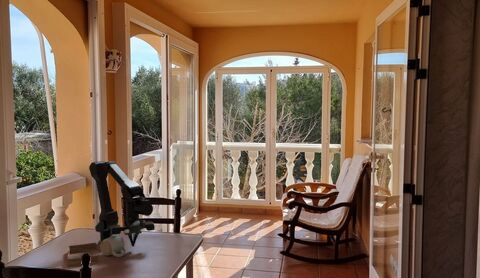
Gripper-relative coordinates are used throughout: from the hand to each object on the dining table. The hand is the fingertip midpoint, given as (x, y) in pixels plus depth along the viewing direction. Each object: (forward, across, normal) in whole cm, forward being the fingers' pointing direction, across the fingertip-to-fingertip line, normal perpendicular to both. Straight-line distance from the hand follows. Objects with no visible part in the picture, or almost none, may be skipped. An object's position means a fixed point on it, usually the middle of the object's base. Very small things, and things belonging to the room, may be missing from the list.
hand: (132, 246), depth 174 cm
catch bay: (+2, -21, 0) cm, 21 cm away
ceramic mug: (+2, -8, -1) cm, 8 cm away
